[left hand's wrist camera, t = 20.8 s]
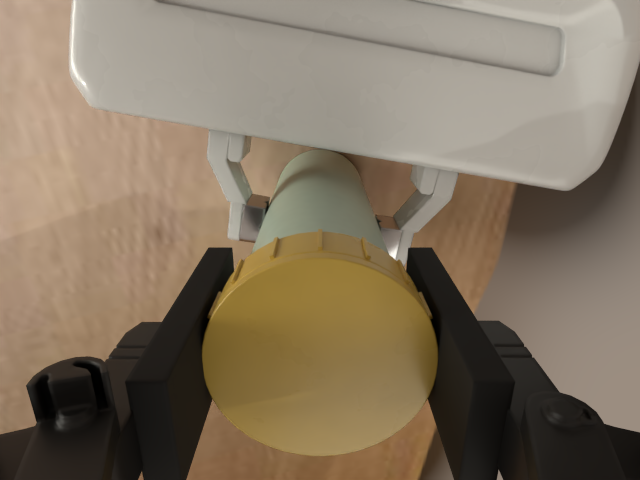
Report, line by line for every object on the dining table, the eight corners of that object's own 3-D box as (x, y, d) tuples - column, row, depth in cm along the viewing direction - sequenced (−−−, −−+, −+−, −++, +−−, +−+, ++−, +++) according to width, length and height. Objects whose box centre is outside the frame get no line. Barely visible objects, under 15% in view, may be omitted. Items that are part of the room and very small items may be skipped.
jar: (283, 142, 25) (231, 245, 10) (370, 156, 25) (438, 275, 11) (272, 225, 27) (215, 412, 12) (353, 237, 27) (393, 433, 12)
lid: (460, 351, 13) (482, 394, 11) (294, 438, 14) (290, 488, 12) (352, 186, 11) (358, 207, 9) (172, 301, 12) (148, 338, 10)
